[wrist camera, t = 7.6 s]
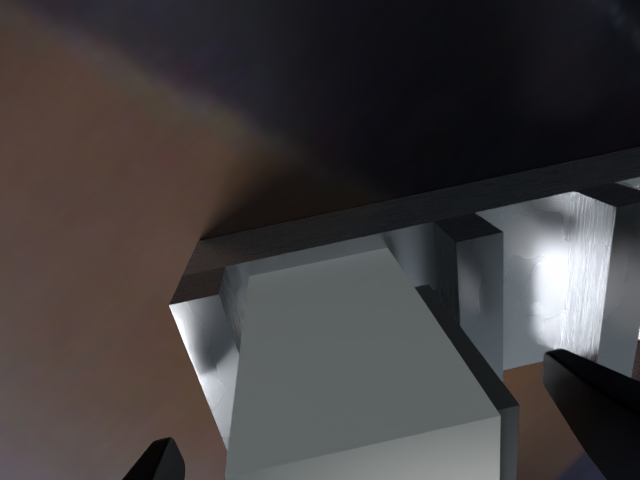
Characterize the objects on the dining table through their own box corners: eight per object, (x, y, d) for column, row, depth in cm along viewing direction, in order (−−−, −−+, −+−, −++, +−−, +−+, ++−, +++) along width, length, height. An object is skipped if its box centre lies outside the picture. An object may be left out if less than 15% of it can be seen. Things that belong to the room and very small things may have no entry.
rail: (726, 269, 16) (1155, 452, 8) (244, 378, 15) (216, 686, 8) (765, 119, 14) (1424, 176, 6) (198, 240, 13) (87, 485, 5)
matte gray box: (248, 276, 11) (224, 477, 5) (408, 243, 11) (540, 406, 6) (285, 407, 13) (295, 651, 7) (420, 377, 13) (527, 594, 8)
